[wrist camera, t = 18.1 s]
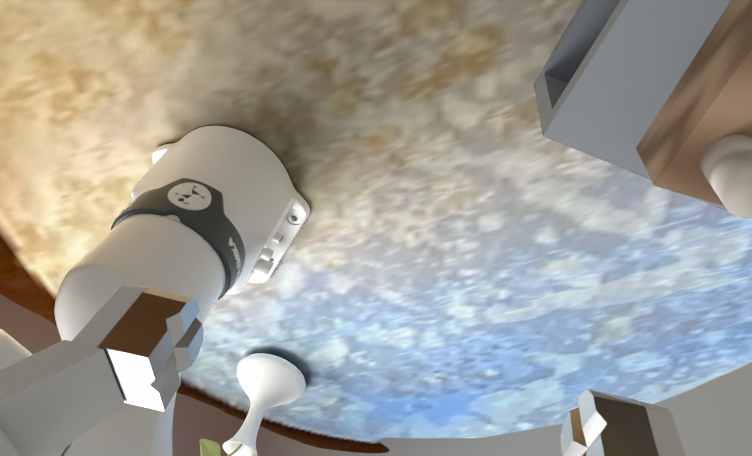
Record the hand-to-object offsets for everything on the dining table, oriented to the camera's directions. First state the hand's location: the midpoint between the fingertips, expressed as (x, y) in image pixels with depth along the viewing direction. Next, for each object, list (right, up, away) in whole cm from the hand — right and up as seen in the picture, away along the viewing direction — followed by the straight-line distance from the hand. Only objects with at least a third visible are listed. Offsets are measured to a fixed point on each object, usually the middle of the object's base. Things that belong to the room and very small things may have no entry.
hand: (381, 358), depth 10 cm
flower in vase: (-17, -19, +67) cm, 72 cm away
